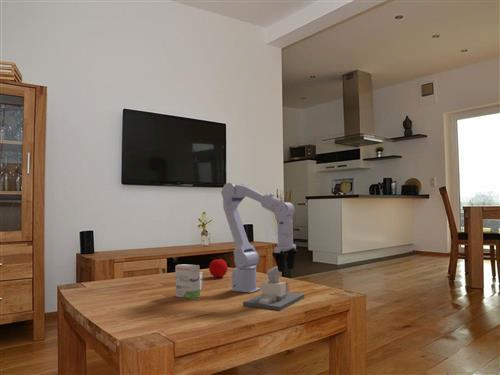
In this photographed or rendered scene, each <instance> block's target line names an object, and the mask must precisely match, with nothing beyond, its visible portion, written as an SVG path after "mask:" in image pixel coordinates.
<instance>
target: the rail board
mask: <svg viewBox="0 0 500 375" xmlns="http://www.w3.org/2000/svg"><path fill="white" fill-rule="evenodd" d="M304 298H305V293H297V292H290V290H289V291H288V292H286V299H284V300H282V301H278V300H277V297H276V296H275V295H267V294H262V293H261V294H259V295H256V296H254V297H251V298H249V299H246V300H244V301H243V302H242V305H243V306H245V307H251V308H258V309H266V310H273V311H282V310H284V309H286V308H288V307H290V306H291V305H293V304H296V303H297V302H298V301H301V300H304Z"/></svg>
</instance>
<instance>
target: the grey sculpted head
mask: <svg viewBox="0 0 500 375" xmlns="http://www.w3.org/2000/svg"><path fill="white" fill-rule="evenodd" d="M266 274H267V275H266V276H267V278H268V281H279V280H280V276H281V275H282V274H283V272H279V271H278V267H277V265H275V266H273V267H272V268H270V269H268V270H267V271H266Z"/></svg>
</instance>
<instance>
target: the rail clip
mask: <svg viewBox="0 0 500 375" xmlns="http://www.w3.org/2000/svg"><path fill="white" fill-rule="evenodd" d="M288 291H289V292H290V284H289V282H286V292H288Z"/></svg>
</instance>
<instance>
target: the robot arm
mask: <svg viewBox="0 0 500 375" xmlns="http://www.w3.org/2000/svg"><path fill="white" fill-rule="evenodd" d="M220 194H221V197H222V208H223V211H224V214H225V217H226V220H227V223H228V226H229V230H230V231H231V235H232V238H233V242H234V245H235V248H234V250H233V255H234V259H233V260H234V264H235V266H236V267H234V268H233V269H232V274H231V291H232V292H241V293H249V294H251V293H254V292H257V291H260V290H261V287H257V266H258V264H259V263H260V255H259V253H258V252H257V251H256V249H255V246H254V245H252V244H251V243H250V242H249V239H248V236H247V233H246V231H245V227H244V224H243V221H242V219H241V215H240V212H239V210H238V206H239V205H240V204H241V202H242V201H243V200H244V199H245V197H247V198H249V199H252V200H254V201H257V202H259V203H260V205H261V207H262V208H264V209H265V210H267V211H270V212H272V213H273V214H274V215H275V217H276V221H277V245H276V246H275V247H274V249H273V252H271V254H272V257H273V258H274V260H275V264H276V266H277V267H278V271H279V272H282V273H285V270H286V268H287V269H288V270H294V268H295V266H294V265H295V262H296V258H297V256H298V254H299V250H298V249H297V244H296V243H295V244H294V229H293V228H294V227H293V224H294V223H293V222H294V221H293V216H294V214H295V211H296V208H295V205H294V204H292V202H290V201H284V199H283V198H278V197H276V196H275V194H274V193H266V194H263V193H262V192H259V191H257V190H256V189H254V188H252V187H250V186H249V185H245V184H243V183H232V182H226V183H224V185H223V187H222V189H221V191H220Z"/></svg>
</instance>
